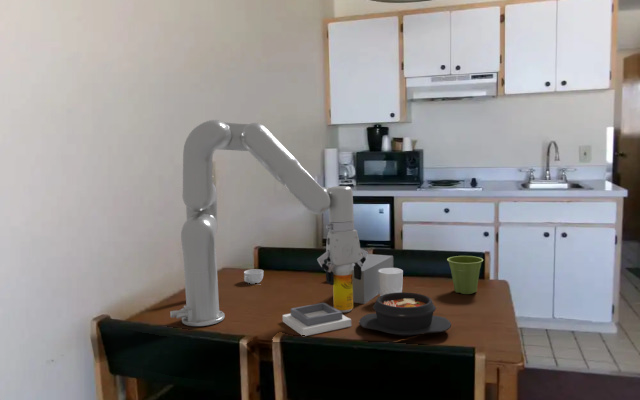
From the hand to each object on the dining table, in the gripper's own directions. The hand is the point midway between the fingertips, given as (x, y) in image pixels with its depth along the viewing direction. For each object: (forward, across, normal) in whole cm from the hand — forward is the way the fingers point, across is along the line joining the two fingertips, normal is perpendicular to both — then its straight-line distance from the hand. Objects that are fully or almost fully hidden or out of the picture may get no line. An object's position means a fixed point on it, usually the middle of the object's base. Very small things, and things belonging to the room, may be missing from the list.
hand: (344, 281), depth 160 cm
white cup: (+10, +17, 0) cm, 20 cm away
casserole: (+10, +5, -23) cm, 26 cm away
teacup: (+9, -13, +47) cm, 49 cm away
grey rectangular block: (+10, +12, +19) cm, 24 cm away
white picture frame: (+9, -14, -7) cm, 18 cm away
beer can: (+9, -1, 0) cm, 9 cm away
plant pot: (+10, +44, -5) cm, 46 cm away
